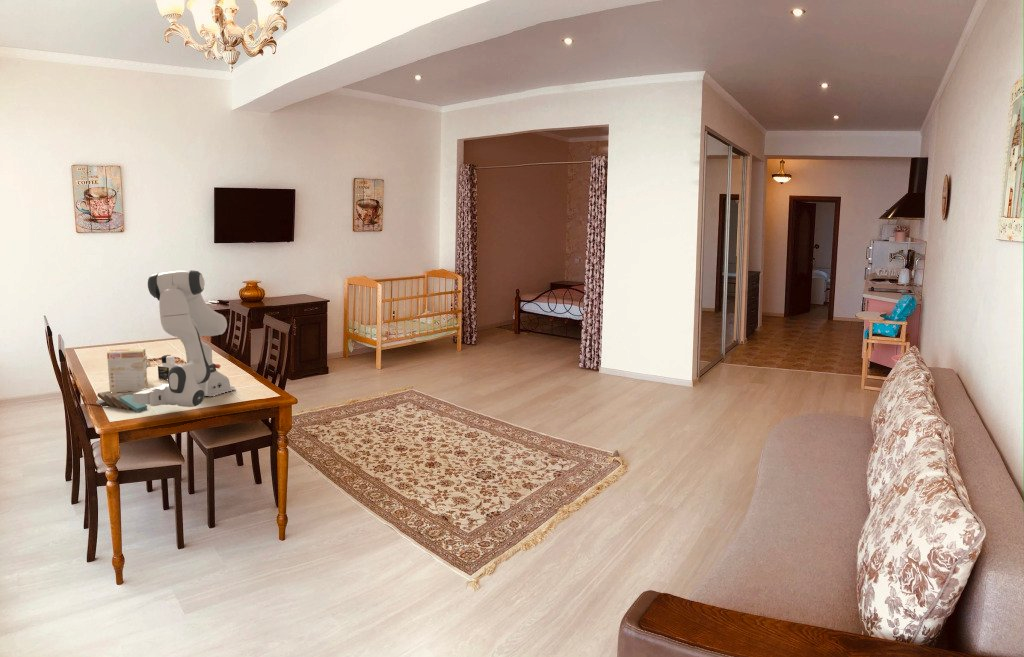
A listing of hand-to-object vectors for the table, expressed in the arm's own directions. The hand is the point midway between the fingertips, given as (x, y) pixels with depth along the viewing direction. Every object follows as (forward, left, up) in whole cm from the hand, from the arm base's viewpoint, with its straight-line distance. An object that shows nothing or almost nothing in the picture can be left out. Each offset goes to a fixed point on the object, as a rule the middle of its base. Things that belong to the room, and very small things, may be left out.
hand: (141, 390), depth 289 cm
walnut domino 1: (+4, -14, -8) cm, 16 cm away
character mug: (-22, -49, -9) cm, 54 cm away
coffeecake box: (-11, -37, -9) cm, 39 cm away
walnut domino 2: (+3, -9, -8) cm, 12 cm away
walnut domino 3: (+2, -4, -8) cm, 9 cm away
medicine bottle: (-35, -46, -9) cm, 58 cm away
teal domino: (0, 0, -8) cm, 8 cm away
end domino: (+5, -16, -9) cm, 19 cm away
